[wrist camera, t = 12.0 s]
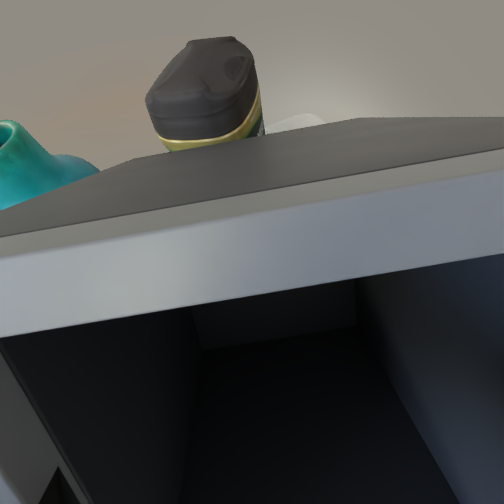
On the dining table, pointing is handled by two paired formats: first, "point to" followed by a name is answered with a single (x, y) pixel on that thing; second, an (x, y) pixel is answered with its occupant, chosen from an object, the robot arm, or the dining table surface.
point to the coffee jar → (207, 96)
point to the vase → (33, 166)
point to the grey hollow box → (263, 322)
